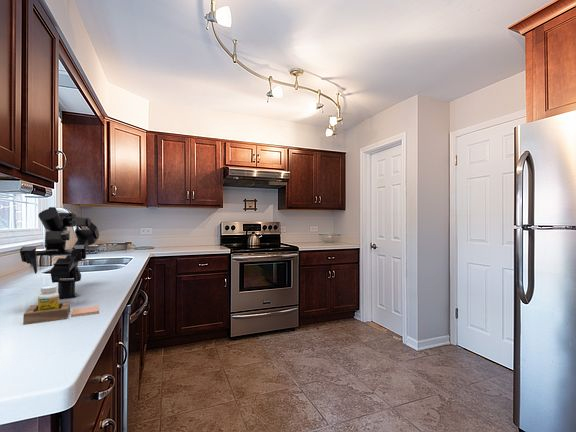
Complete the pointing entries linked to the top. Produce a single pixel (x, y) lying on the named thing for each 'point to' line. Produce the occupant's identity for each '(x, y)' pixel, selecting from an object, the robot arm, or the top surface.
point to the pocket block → (46, 314)
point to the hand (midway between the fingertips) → (52, 271)
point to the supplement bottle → (48, 298)
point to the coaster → (85, 311)
